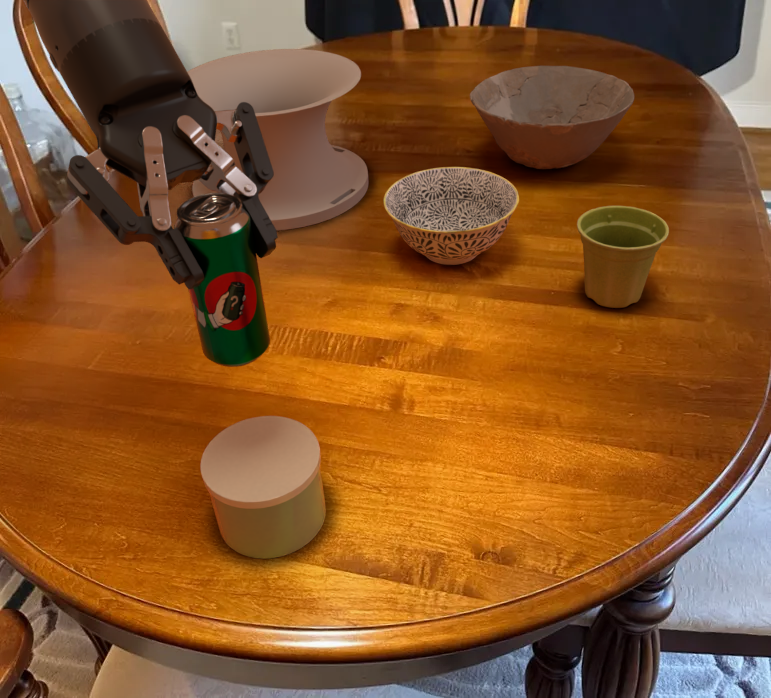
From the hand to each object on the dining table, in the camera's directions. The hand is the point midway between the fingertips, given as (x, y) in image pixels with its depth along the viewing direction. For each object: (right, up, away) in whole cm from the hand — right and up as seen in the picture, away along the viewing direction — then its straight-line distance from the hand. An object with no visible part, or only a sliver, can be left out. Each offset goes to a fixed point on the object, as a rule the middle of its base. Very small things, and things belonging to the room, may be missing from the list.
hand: (233, 267), depth 54 cm
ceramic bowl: (+34, +23, +64) cm, 76 cm away
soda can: (-1, -6, +6) cm, 9 cm away
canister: (+1, -20, +13) cm, 24 cm away
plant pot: (+36, +1, +36) cm, 51 cm away
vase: (-5, +18, +61) cm, 64 cm away
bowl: (+18, +6, +45) cm, 49 cm away
